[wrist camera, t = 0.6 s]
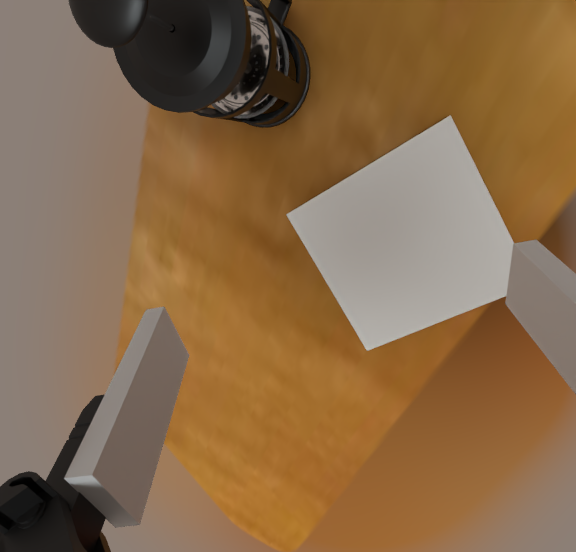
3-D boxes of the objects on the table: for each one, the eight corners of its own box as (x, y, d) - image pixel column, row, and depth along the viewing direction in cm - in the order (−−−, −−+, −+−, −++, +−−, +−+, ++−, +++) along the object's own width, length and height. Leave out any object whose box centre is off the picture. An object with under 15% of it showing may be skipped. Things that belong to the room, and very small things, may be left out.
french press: (281, 150, 39) (154, 155, 18) (206, 107, 40) (-1, 66, 19) (336, 30, 35) (248, -146, 14) (249, -16, 35) (38, -251, 14)
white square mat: (449, 116, 35) (450, 115, 34) (531, 281, 37) (534, 284, 36) (288, 213, 41) (286, 214, 40) (367, 346, 44) (367, 350, 43)
